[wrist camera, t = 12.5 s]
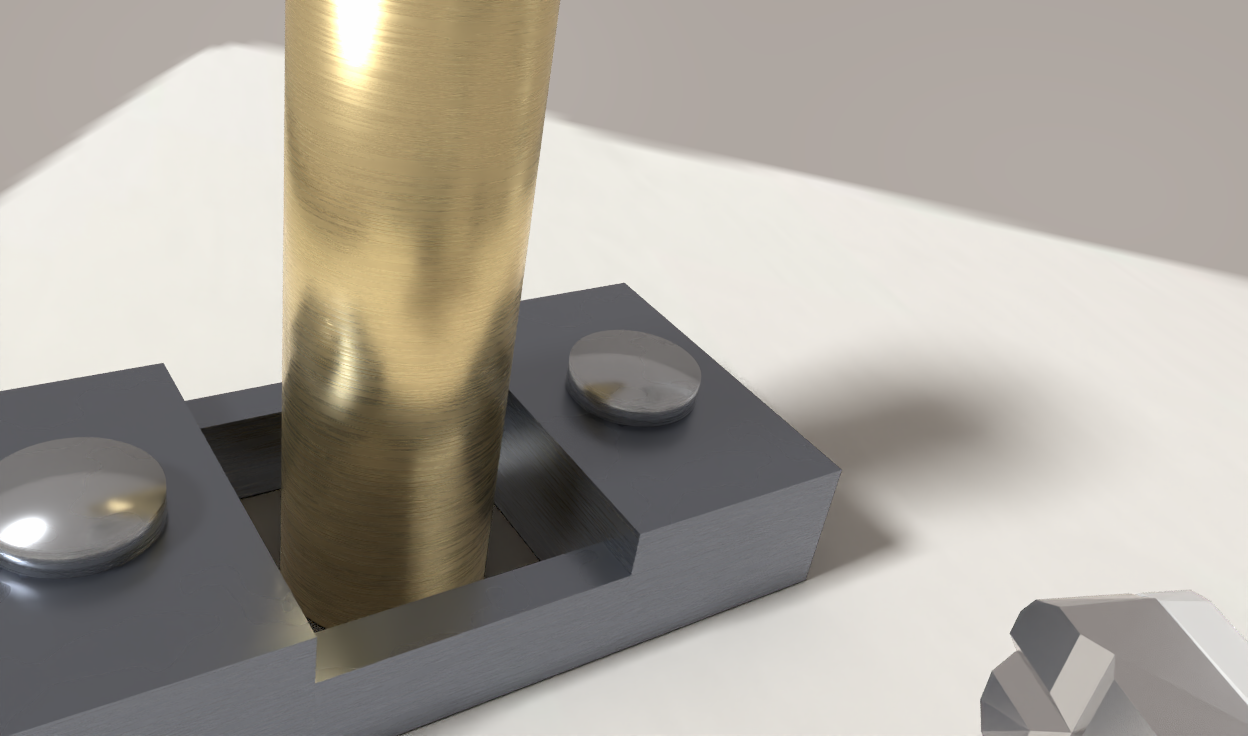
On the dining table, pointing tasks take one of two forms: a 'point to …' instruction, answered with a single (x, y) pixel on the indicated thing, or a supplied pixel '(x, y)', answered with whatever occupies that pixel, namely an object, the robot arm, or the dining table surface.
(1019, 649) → the robot arm
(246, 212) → the dining table surface
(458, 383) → the pin
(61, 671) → the slotted clamp bar
